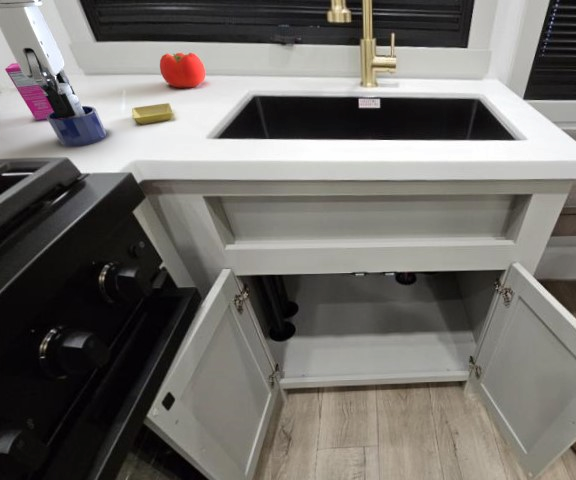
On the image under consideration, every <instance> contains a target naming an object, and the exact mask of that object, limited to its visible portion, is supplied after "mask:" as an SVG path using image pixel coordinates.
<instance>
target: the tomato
mask: <svg viewBox="0 0 576 480" xmlns="http://www.w3.org/2000/svg"><path fill="white" fill-rule="evenodd" d="M159 70H160V73H161V76H162V78H163V79H164V81H165V82H166V83H167V84H168V85H170V86H172V87H174V88H177V89H184V88H185V89H189V88H191V89H192V88H195V87H198V86H199V85H200V84H202V83H203V82H204V81H205V78H206V68H205V66H204V63H203V61H202V60H201V59H200V57H199V56H198V55H197V54H196V53H193V52H189V53H187V54H184V53H183V52H177V53H173V55H171V54H169V53H165V54H163V55H162V56H161V58H160V59H159Z"/></svg>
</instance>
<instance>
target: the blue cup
mask: <svg viewBox="0 0 576 480" xmlns="http://www.w3.org/2000/svg"><path fill="white" fill-rule="evenodd" d="M81 106H82V108H83V110H84V112H85V115H83V116H80V117H76V118H71V119H59V118H58V117H56V115H55V113H54V112H52V113H50V114H48V115H47V116H46V118H47V120H46V121H47V122H48V123H49V125H50V127H51V129H52V131H53V132H54V134H55V136H56V137H57V139H58V141H59V142H60V144H61V145H62V146H64V147H82V146H88V145H92V144H94V143H98V142H100V141H102V140H104V138H106V137H107V132H106V128H105V126H104V124H103V123H102V120H101V118H100V115H99V114H98V111H97V109H96V108H95V107H94V106H89V105H81Z"/></svg>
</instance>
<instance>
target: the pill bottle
mask: <svg viewBox="0 0 576 480" xmlns="http://www.w3.org/2000/svg"><path fill="white" fill-rule="evenodd" d="M59 84H60V87H61V89H62V92H63V93H66V95H67V97H68V99H69V101H70V104H71V106H72V108H73V110H74V112H75V116H73V117H64V118H59V119H71V118H76V117H80V116H83V115H85V112H84V110H83V108H82V106H83V105H82V104H81V102H80V100H79V98H78V96H77V95H76V94H75V95H74V94H72V90H71V88H70V86H71V85H69V84H67V83H59ZM54 86H55V85H54Z"/></svg>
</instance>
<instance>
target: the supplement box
mask: <svg viewBox="0 0 576 480" xmlns="http://www.w3.org/2000/svg"><path fill="white" fill-rule="evenodd" d="M4 71H5V72H6V73H7V75H8V77H9V79H10V80H11V82H12V83H13V85H14V86H15V88H16V90H17V91H18V93H19V95H20V96H21V98H22V100H23V101H24V103H25V104H26V106H27V108H28V109H29V111H30V113H31V114H32V116H33V118H34V119H35V121H36V122H38V121H39V122H40V121H48V120H47V118H46V116H47V115H48V114H50V113H52V112H54V111H53V109H52V107H51V105H50V103H49V102H48V100H47V98H46V96H45V95H44V93H43V91H42V89H41V87H40V86H39V84H37V83H36V82H35V80H34V77H32V78H27V77H26V76H24V75H23V73H22V71H21V69H20V67H19V65H18V63H17V62H12V63H10V64H9V65H8V66H7V67H6V68H4ZM43 74H44V76H45V75H47V74H46V72H43ZM47 81H50V80H47Z"/></svg>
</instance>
